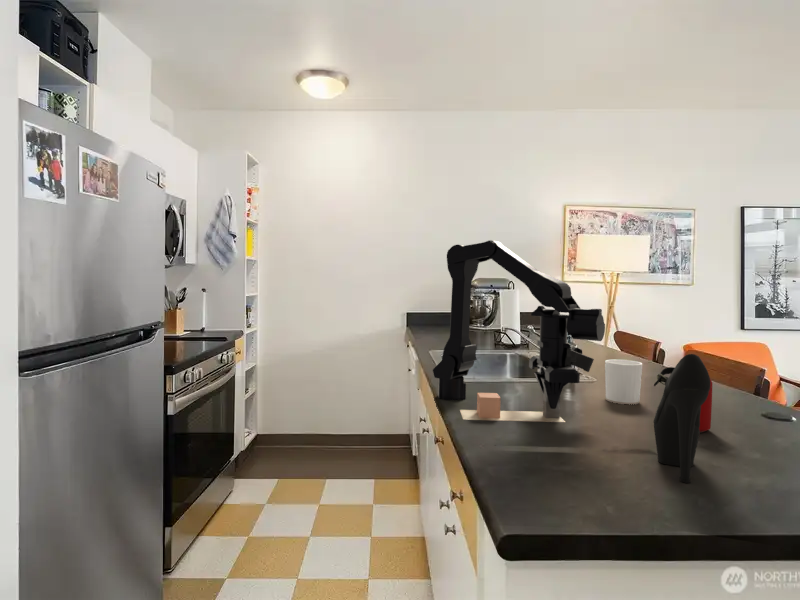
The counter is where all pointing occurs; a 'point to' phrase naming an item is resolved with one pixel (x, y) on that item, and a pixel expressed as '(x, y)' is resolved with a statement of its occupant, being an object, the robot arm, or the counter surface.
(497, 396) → the block
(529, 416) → the strip
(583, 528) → the counter surface
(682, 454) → the high-heeled shoe
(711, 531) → the counter surface
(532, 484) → the counter surface
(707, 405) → the beverage can
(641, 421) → the counter surface
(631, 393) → the mug
